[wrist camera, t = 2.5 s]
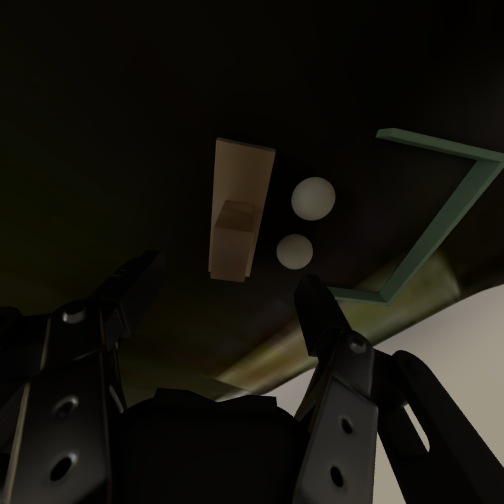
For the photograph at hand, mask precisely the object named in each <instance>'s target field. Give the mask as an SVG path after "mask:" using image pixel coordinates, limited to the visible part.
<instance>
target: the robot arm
mask: <svg viewBox="0 0 504 504" xmlns="http://www.w3.org/2000/svg"><path fill="white" fill-rule="evenodd" d="M165 277H166V271H165V260H164V253H163V252H160V251H153V250H146V251H145V252H144V253H143V254H142V255H141V256H140V257H139V258H136V257H135V258H133V259H131V260H129V261H127V262H125V263H124V264H123V265H122V266H121V267H120V268H119V269H118V271H115V272H114V273H113V274H112V276H110V277H109V278H108V279H107V280H106V281H105V282H104V283H103V284H102V285H101V286H100V287H98V288H97V289H96V290H95V291H94V292H93V293H92V294H91V295H90V296H89V297H88V298H87V299H80V300H76V301H72V302H70V303H67V304H65V305H63V306H61V307H60V308H58V309H57V310H55V311H54V312H53V313H48V314H40V315H32V316H24V317H23V315H22V314H21V313H20V311H19V310H18V309H17V308H14V307H0V504H372V502H373V486H374V470H375V455H376V439H377V432H378V434H379V437H380V439H381V442H382V444H383V447H384V449H385V452H386V454H387V457H388V459H389V462H390V464H391V467H392V469H393V472H394V474H395V477H396V479H397V482H398V484H399V487H400V489H401V492H402V494H403V497H404V500H405V502H406V504H504V467H503V466H502V465H501V463H500V462H499V461H498V459H497V458H496V457H495V456H494V454H493V453H492V451H491V450H490V449H489V447H488V446H487V445H486V443H485V442H484V441H483V439H482V438H481V437H480V436H479V434H478V433H477V431H476V430H475V429H474V427H473V426H472V425H471V423H470V422H469V421H468V419H467V418H466V417H465V415H464V414H463V413H462V411H461V410H460V409H459V407H458V406H457V405H456V403H455V402H454V401H453V399H452V398H451V397H450V395H449V394H448V393H447V391H446V390H445V388H443V386H442V384H441V383H440V382H439V381H438V379H437V378H436V376H435V375H434V374H433V373H432V371H431V370H430V369H429V367H428V366H427V365H426V364H425V363H424V362H423V361H422V360H420V359H419V358H417V357H416V356H415V355H413V354H411V353H409V352H407V351H403V350H398V351H396V352H395V353H394V354H393V355H392V356H391V355H388V354H386V353H384V352H381V351H379V350H376V349H374V348H373V347H372V345H371V344H370V343H369V341H368V340H367V339H366V338H365V337H364V336H362V335H361V334H360V333H358V332H356V331H354V330H352V329H351V327H350V325H349V323H348V321H347V319H346V318H345V316H344V314H343V312H342V310H341V308H340V307H339V306H338V303H337V301H336V300H335V297H334V295H333V294H332V292H331V291H330V290H329V289H328V288H327V287H326V286H325V285H323V284H322V283H321V281H320V279H319V277H318V276H317V275H313V274H307V273H304V274H302V276H301V279H300V281H299V283H298V286H297V288H296V290H295V293H294V303H295V307H296V310H297V314H298V318H299V321H300V325H301V329H302V332H303V336H304V340H305V343H306V347H307V351H308V355H309V356H312V357H318V360H319V363H318V364H317V366H316V369H315V371H314V374H313V376H312V379H311V381H310V384H309V386H308V389H307V391H306V394H305V396H304V398H303V401H302V403H301V404H300V406H299V408H298V410H297V412H296V414H295V416H294V417H293V416H292V415H290V414H289V413H288V412H286V411H285V410H283V409H282V408H280V407H277V401H276V397H272V396H259V395H245V396H242V397H238V398H234V399H230V400H226V401H222V402H215V401H212V400H210V399H208V398H205V397H203V396H201V395H198V394H196V393H193V392H191V391H189V390H177V389H164V388H157V391H156V393H155V396H154V398H151V399H147V400H145V401H142V402H140V403H138V404H135V405H133V406H131V407H130V408H128V409H127V406H126V401H125V397H124V393H123V389H122V384H121V378H120V371H119V364H118V357H117V348H118V346H119V340H118V339H119V338H120V337H129V338H130V337H131V336H132V334H133V332H134V331H135V329H136V327H137V326H138V324H139V323H140V321H141V319H142V318H143V316H144V315H145V313H146V311H147V310H148V308H149V307H150V305H151V303H152V302H153V300H154V299H155V297H156V295H157V294H158V292H159V291H160V289H161V287H162V286H163V284H164V281H165ZM407 404H409V405H410V407H411V409H412V411H413V413H414V414H415V416H416V418H417V420H418V421H419V423H420V425H421V427H422V429H423V430H424V432H425V434H426V436H427V438H428V441H429V445H430V449H429V452H428V451H427V450H426V448H425V446H424V444H423V442H422V440H421V438H420V437H419V435H418V433H417V431H416V429H415V427H414V425H413V424H412V422H411V420H410V418H409V416H408V414H407V412H406V410H405V409H404V406H405V405H407Z"/></svg>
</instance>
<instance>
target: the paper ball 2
mask: <svg viewBox="0 0 504 504" xmlns="http://www.w3.org/2000/svg"><path fill="white" fill-rule="evenodd" d="M291 201H292V207H293V210H294V211H295V213H296V214H297V215H298V216H299V217H301V218H303V219H305V220H317V219H320V218H322V217H324V216H326V215H327V214H328V213H329V212H330V211H331V209H332V207H333V205H334V202H335V191H334V188H333V187H332V185H331V184H330V183H329V182H328V181H327V180H325V179H323V178H319V177H312V178H308V179H305V180H303V181H302V182H301V183H299V184H298V185H297V187H296V188H295V190H294V192H293V194H292V200H291Z"/></svg>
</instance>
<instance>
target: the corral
mask: <svg viewBox="0 0 504 504" xmlns="http://www.w3.org/2000/svg"><path fill="white" fill-rule="evenodd" d="M376 137H377V138H381V139H385V140H390V141H394V142H399V143H403V144H408V145H412V146H417V147H421V148H425V149H430V150H434V151H439V152H443V153H448V154H452V155H456V156H461V157H465V158H470V159H474V160H477V162H476V163H475V164H474V166H473V167H472V168H471V170H470V171H469V172H468V174H467V175H466V176H465V178H464V179H463V180H462V182H461V183H460V184H459V186H458V187H457V188H456V190H455V191H454V193H453V194H452V195H451V197H450V198H449V199H448V201H447V202H446V203H445V205H444V206H443V207H442V209H441V210H440V211H439V213H438V214H437V215H436V217H435V218H434V219H433V221H432V222H431V223H430V225H429V226H428V227H427V229H426V230H425V231H424V233H423V234H422V235H421V237H420V238H419V240H418V241H417V242H416V244H415V245H414V246H413V248H412V249H411V250H410V252H409V253H408V254H407V256H406V257H405V258H404V260H403V261H402V262H401V264H400V265H399V266H398V268H397V269H396V270H395V272H394V273H393V274H392V276H391V277H390V278H389V280H388V281H387V283H386V284H385V285H384V287H383V288H382V289H381V291H380V292H379V293H375V292H367V291H359V290H352V289H344V288H336V287H328V286H326V287H327V288H328V289H329V290H330V291H331V292H332V294H333V295H334V297H335V300H342V301H351V302H359V303H367V304H375V305H384V306H389V305H390V304H391V303H392V302H393V301H394V299H395V298H396V297H397V296H398V295H399V293H400V292H401V291H402V290H403V288H404V287H405V286H406V285H407V284H408V282H409V281H410V280H411V279H412V278H413V276H414V275H415V274H416V273H417V272H418V270H419V269H420V268H421V267H422V266H423V264H424V263H425V262H426V261H427V260H428V258H429V257H430V256H431V255H432V253H433V252H434V251H435V250H436V249H437V247H438V246H439V245H440V244H441V243H442V241H443V240H444V239H445V238H446V237H447V235H448V234H449V233H450V232H451V231H452V229H453V228H454V227H455V226H456V225H457V223H458V222H459V221H460V220H461V218H462V217H463V216H464V215H465V214H466V212H467V211H468V210H469V209H470V208H471V206H472V205H473V204H474V203H475V202H476V200H477V199H478V198H479V197H480V196H481V194H482V193H483V192H484V191H485V190H486V188H487V187H488V186H489V185H490V184H491V182H492V181H493V180H494V179H495V177H496V176H497V175H498V174H499V173H500V171H501V170H502V169H503V168H504V154H503V153H499V152H495V151H490V150H486V149H482V148H478V147H473V146H469V145H465V144H461V143H456V142H452V141H448V140H443V139H439V138H435V137H431V136H426V135H422V134H418V133H414V132H409V131H405V130H401V129H397V128H389V129H380V130H378V132H377V135H376Z"/></svg>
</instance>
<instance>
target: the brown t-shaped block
mask: <svg viewBox="0 0 504 504" xmlns="http://www.w3.org/2000/svg"><path fill="white" fill-rule="evenodd" d="M275 152H276V149H273V148H268V147H263V146H258V145H253V144H248V143H243V142H239V141H234V140H229V139H224V138H219V137H217V141H216V155H215V172H214V188H213V205H212V222H211V239H210V255H209V272H211V278H214V279H222V280H230V281H238V282H244V279H245V276H248V277H249V275H250V270H251V265H252V261H253V256H254V251H255V247H256V242H257V237H258V232H259V228H260V223H261V218H262V214H263V209H264V204H265V200H266V195H267V190H268V186H269V181H270V176H271V171H272V167H273V162H274V157H275Z"/></svg>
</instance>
